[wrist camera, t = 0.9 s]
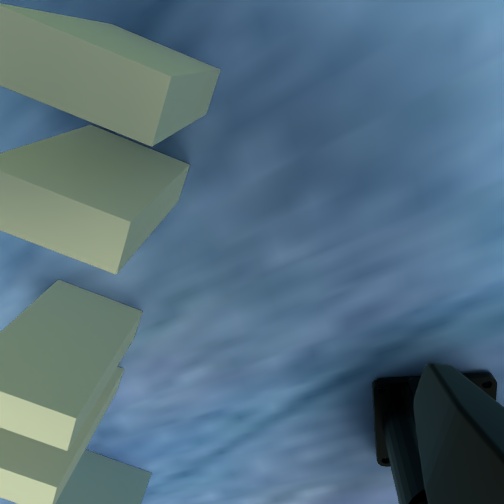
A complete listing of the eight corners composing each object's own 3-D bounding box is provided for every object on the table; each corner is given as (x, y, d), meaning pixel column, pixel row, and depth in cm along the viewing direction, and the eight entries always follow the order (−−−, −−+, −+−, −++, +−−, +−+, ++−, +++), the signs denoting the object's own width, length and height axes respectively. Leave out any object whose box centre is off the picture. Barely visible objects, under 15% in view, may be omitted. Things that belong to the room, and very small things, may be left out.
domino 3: (58, 279, 24) (-46, 374, 17) (142, 311, 24) (76, 418, 17) (52, 307, 25) (-50, 409, 18) (134, 338, 25) (67, 451, 18)
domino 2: (90, 124, 20) (-26, 161, 13) (190, 164, 21) (130, 222, 13) (82, 163, 21) (-31, 218, 14) (178, 201, 21) (116, 274, 14)
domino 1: (111, 24, 18) (-10, 1, 11) (220, 69, 19) (171, 76, 12) (102, 71, 19) (-17, 78, 12) (206, 114, 20) (152, 146, 12)
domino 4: (45, 339, 26) (-54, 449, 19) (124, 368, 26) (56, 487, 19) (40, 364, 27) (-57, 477, 20) (116, 392, 27) (49, 514, 20)
